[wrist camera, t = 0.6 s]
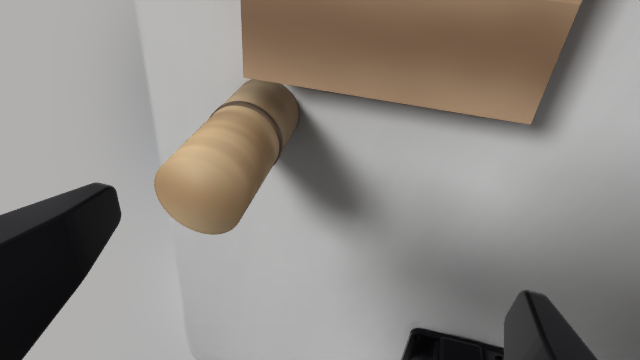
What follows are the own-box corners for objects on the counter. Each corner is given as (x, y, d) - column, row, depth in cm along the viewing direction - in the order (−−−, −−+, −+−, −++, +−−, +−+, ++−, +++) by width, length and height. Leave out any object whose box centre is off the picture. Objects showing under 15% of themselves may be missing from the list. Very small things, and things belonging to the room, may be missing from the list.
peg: (298, 145, 23) (244, 243, 17) (235, 134, 24) (161, 224, 17) (301, 83, 21) (241, 168, 15) (232, 71, 22) (145, 148, 15)
